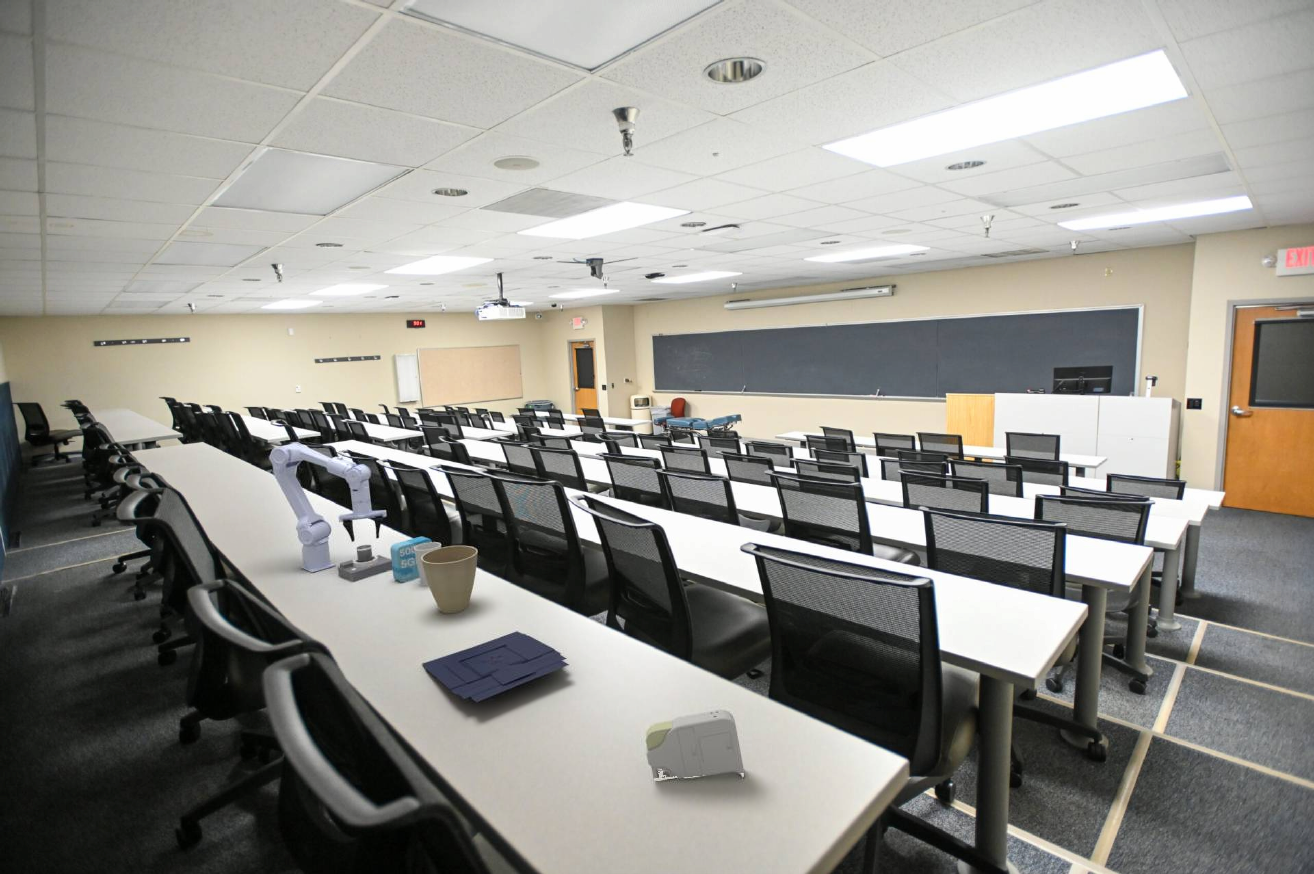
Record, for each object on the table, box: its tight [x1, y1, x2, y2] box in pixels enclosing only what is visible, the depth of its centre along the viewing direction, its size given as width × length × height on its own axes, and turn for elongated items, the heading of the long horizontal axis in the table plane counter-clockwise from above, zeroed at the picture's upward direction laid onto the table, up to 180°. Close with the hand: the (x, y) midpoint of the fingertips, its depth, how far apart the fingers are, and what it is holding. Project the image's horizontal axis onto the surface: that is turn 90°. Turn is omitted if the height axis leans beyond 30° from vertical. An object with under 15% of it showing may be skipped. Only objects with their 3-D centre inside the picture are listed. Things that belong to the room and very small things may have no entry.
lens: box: [355, 544, 373, 563], centre depth 200 cm, size 4×4×6 cm
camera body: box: [337, 555, 393, 583], centre depth 201 cm, size 10×14×4 cm
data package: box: [389, 536, 433, 583], centre depth 195 cm, size 12×4×12 cm, turn 140°
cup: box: [414, 541, 442, 588], centre depth 189 cm, size 8×8×12 cm
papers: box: [422, 630, 570, 703], centre depth 134 cm, size 24×30×4 cm
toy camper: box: [645, 709, 745, 779], centre depth 98 cm, size 11×3×15 cm
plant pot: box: [421, 545, 478, 614], centre depth 168 cm, size 15×15×16 cm
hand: (365, 539), depth 206 cm, fingers open, 7 cm apart
